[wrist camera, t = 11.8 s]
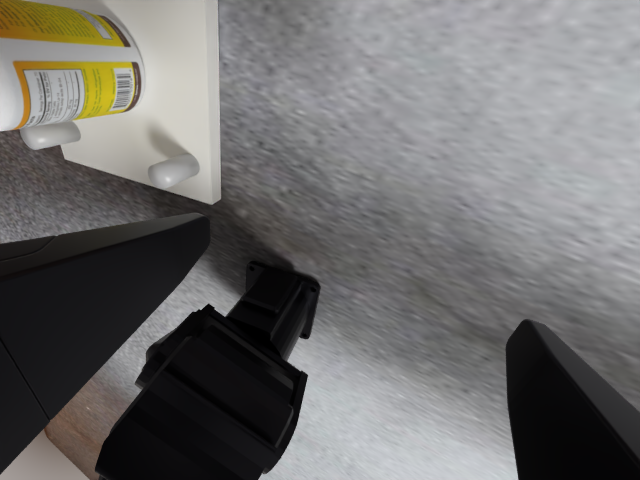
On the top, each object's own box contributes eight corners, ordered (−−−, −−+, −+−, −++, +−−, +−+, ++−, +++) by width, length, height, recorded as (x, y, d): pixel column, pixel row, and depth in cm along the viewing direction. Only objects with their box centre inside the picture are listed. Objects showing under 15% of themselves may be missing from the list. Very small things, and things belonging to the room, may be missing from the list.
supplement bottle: (64, 21, 19) (-222, -15, 11) (129, 5, 18) (-152, -54, 9) (102, 115, 22) (-105, 145, 13) (162, 109, 20) (-33, 138, 12)
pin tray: (221, 199, 24) (184, 221, 20) (78, 155, 26) (24, 169, 23) (216, -89, 15) (153, -135, 12) (6, -113, 18) (-97, -156, 14)
